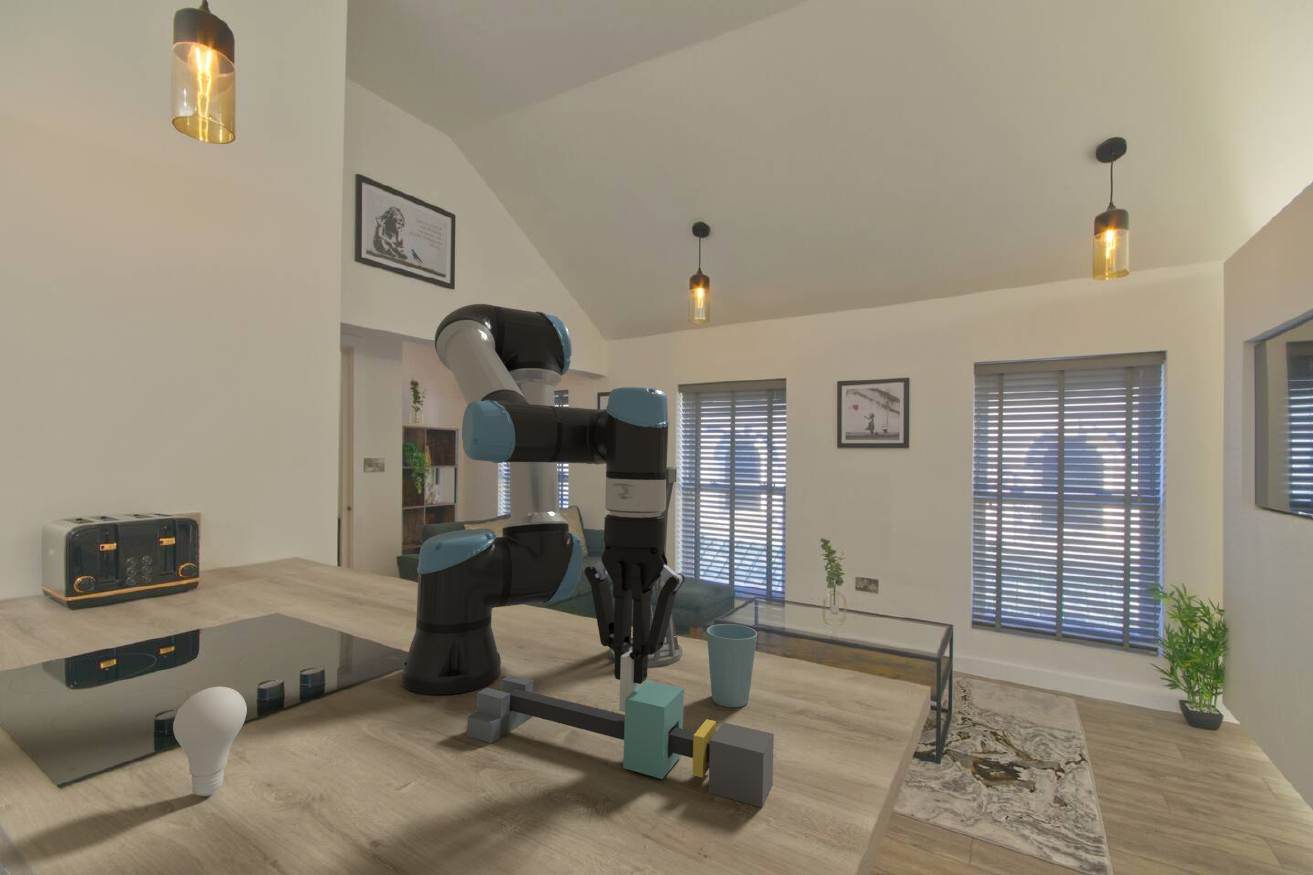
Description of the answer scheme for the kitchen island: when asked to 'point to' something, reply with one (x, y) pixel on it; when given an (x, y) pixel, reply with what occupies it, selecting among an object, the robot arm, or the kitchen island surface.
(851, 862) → the kitchen island surface
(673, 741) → the dark grey long bar
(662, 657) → the grey lattice tower
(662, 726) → the sleeve
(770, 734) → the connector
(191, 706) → the lightbulb
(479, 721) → the grey stepped brick
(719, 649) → the cup
